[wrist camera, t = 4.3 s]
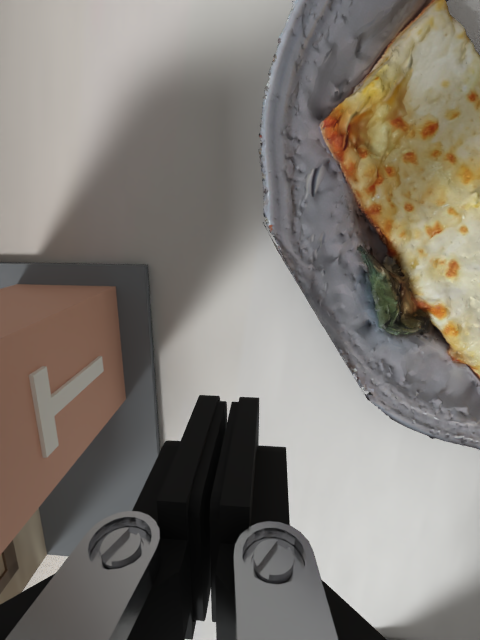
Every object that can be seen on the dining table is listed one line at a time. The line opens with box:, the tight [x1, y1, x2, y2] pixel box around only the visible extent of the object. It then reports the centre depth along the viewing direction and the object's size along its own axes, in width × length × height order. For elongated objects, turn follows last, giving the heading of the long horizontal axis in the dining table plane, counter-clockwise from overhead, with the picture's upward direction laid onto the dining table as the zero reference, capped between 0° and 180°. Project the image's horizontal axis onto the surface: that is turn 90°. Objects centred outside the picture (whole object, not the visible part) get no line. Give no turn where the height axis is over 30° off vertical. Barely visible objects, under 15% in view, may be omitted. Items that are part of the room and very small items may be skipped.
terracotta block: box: [0, 284, 126, 555], centre depth 14 cm, size 5×6×10 cm
